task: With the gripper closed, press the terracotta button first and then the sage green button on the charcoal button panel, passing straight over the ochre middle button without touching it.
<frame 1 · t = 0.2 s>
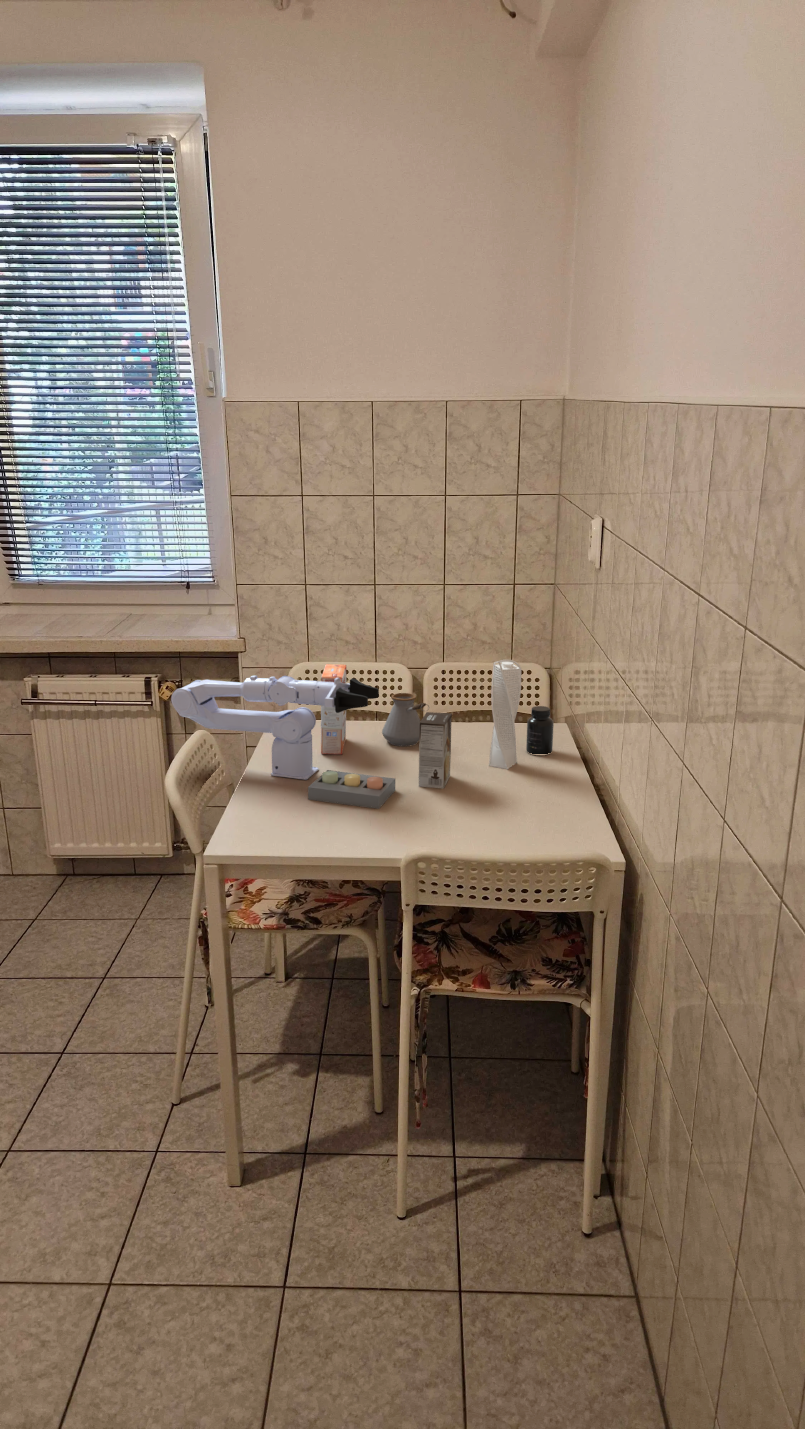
hand: (373, 697, 232), 21 cm above the table, tool horizontal, fingers open, 7 cm apart
coffee pot: (409, 748, 264), on the table
cracker box: (334, 747, 264), on the table
button sage: (330, 780, 231), point 3 cm above the table, slide at 0.0 cm
skyscraper: (502, 765, 252), on the table
button ochre: (352, 783, 230), point 3 cm above the table, slide at 0.0 cm
coffee box: (434, 782, 240), on the table
supplement bottle: (538, 752, 262), on the table
button panel: (352, 794, 231), on the table
button terracotta: (374, 786, 228), point 3 cm above the table, slide at 0.0 cm
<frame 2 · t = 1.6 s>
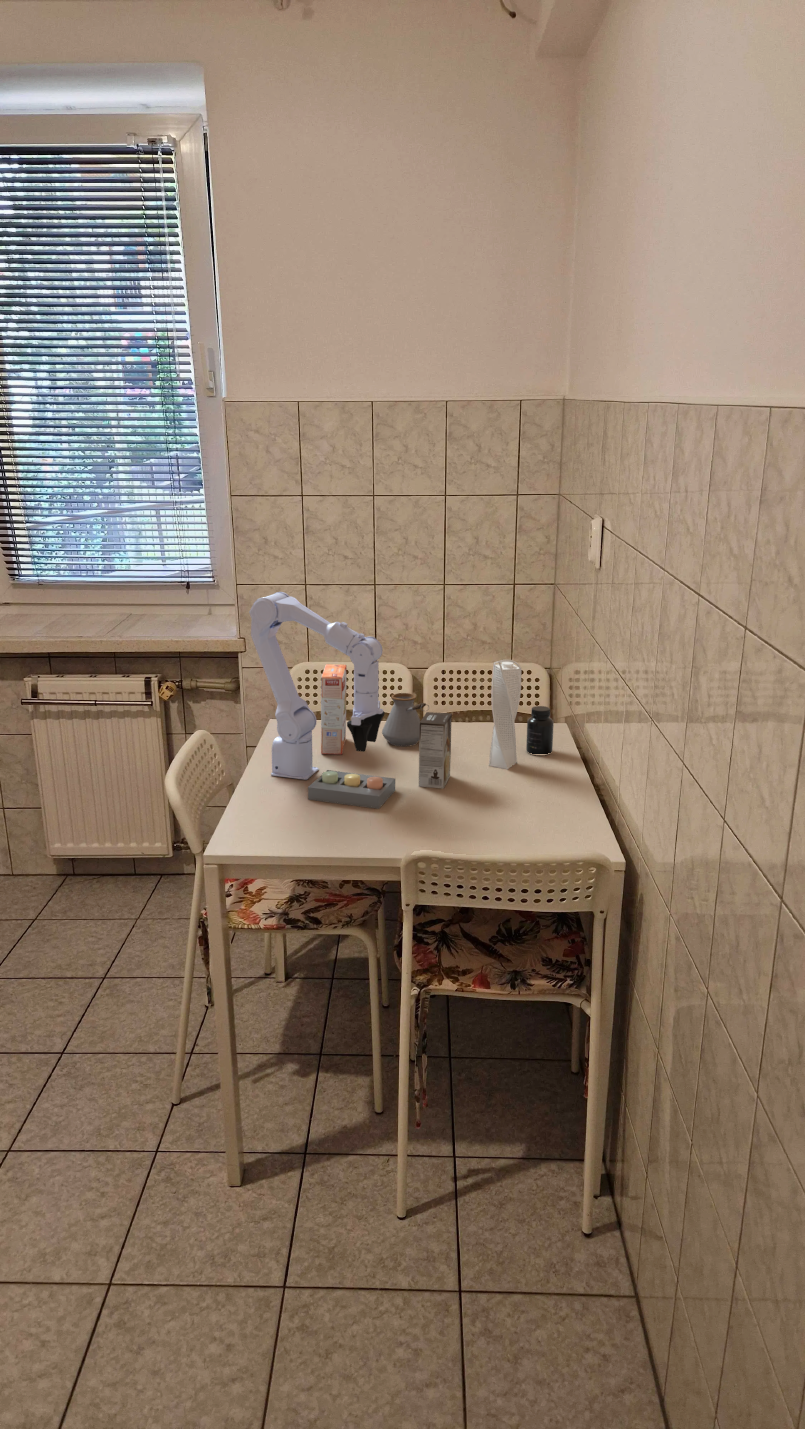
hand: (366, 746, 235), 9 cm above the table, tool pointing down, fingers open, 7 cm apart
nothing on the table moved.
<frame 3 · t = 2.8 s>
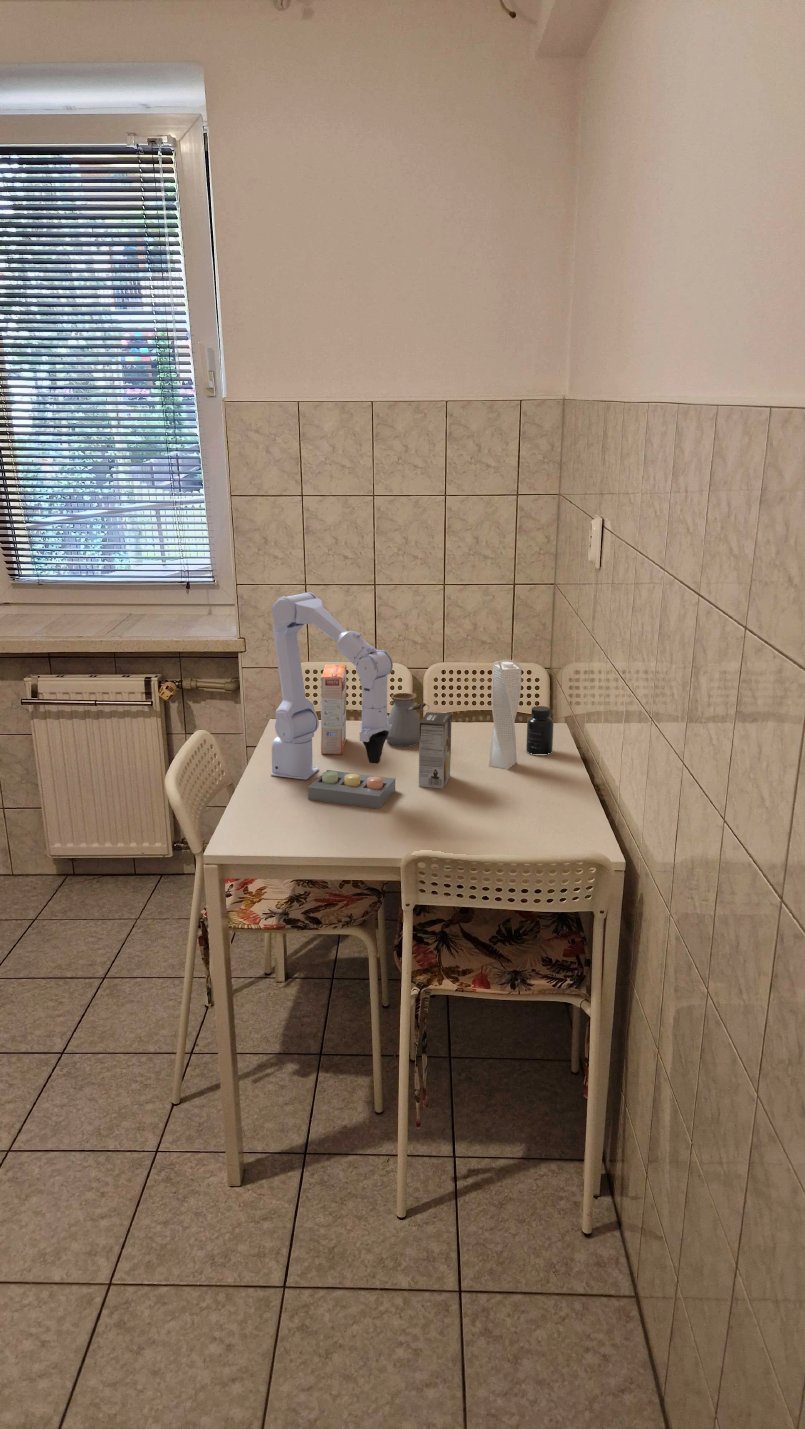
hand: (374, 762, 228), 8 cm above the table, tool pointing down, fingers closed
nothing on the table moved.
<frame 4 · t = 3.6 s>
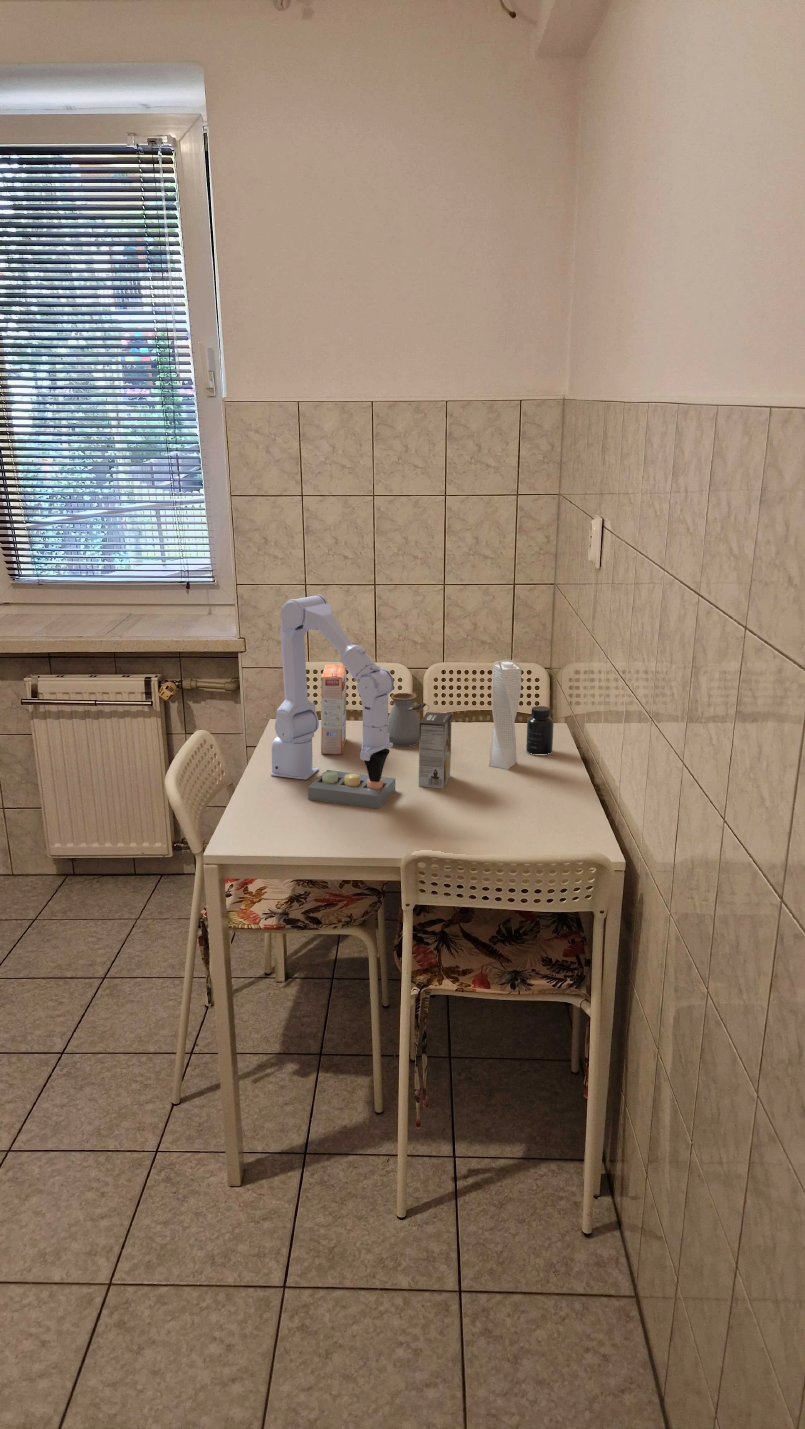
hand: (375, 780, 228), 4 cm above the table, tool pointing down, fingers closed, pressing on button terracotta
button terracotta: (374, 787, 228), point 3 cm above the table, slide at 0.3 cm, touching gripper
everything else where it was.
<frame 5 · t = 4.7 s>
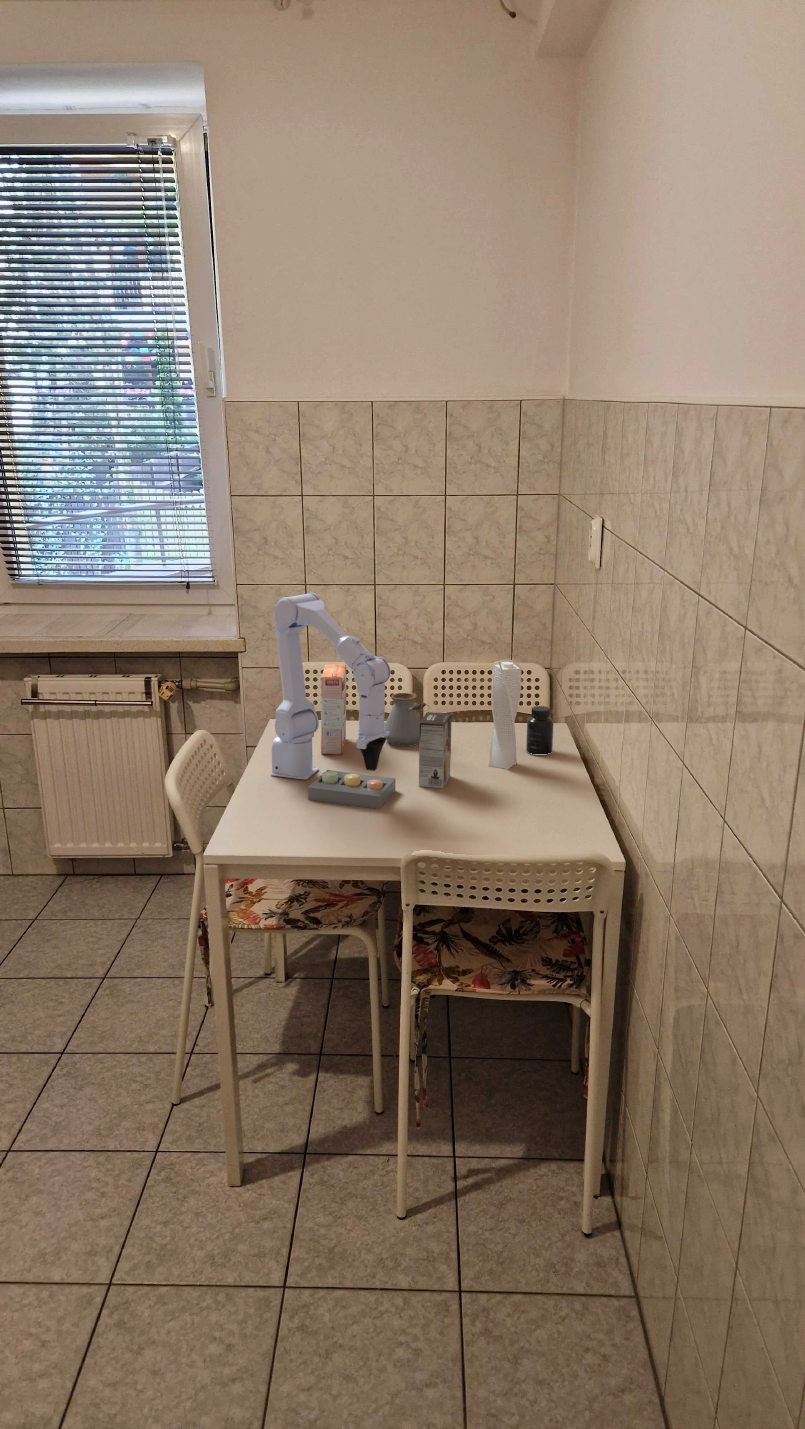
hand: (371, 769, 227), 7 cm above the table, tool pointing down, fingers closed
button terracotta: (374, 789, 229), point 2 cm above the table, slide at 0.7 cm
everything else where it was.
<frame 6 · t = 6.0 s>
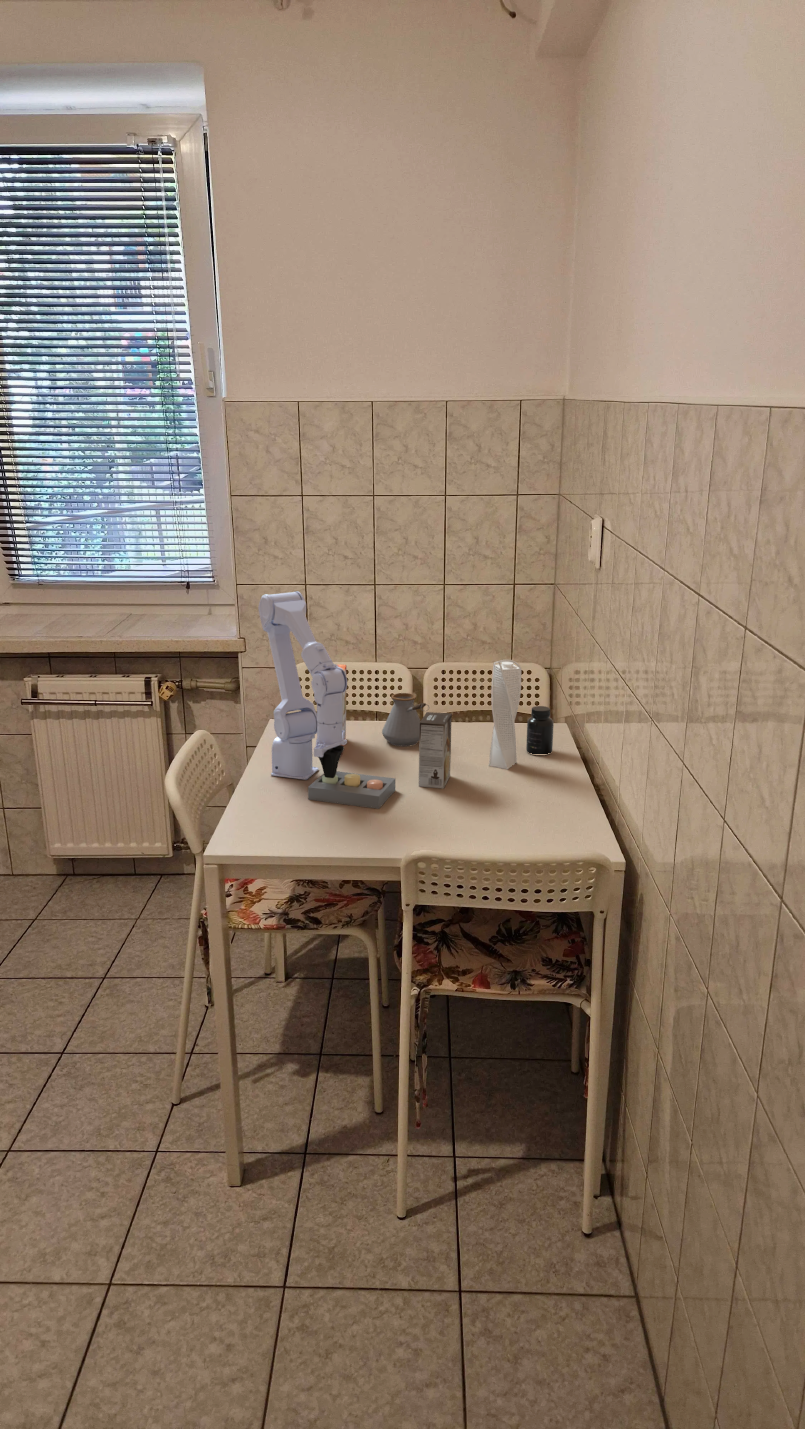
hand: (330, 776, 231), 4 cm above the table, tool pointing down, fingers closed, pressing on button sage
button sage: (330, 783, 232), point 2 cm above the table, slide at 0.7 cm, touching gripper
everything else where it was.
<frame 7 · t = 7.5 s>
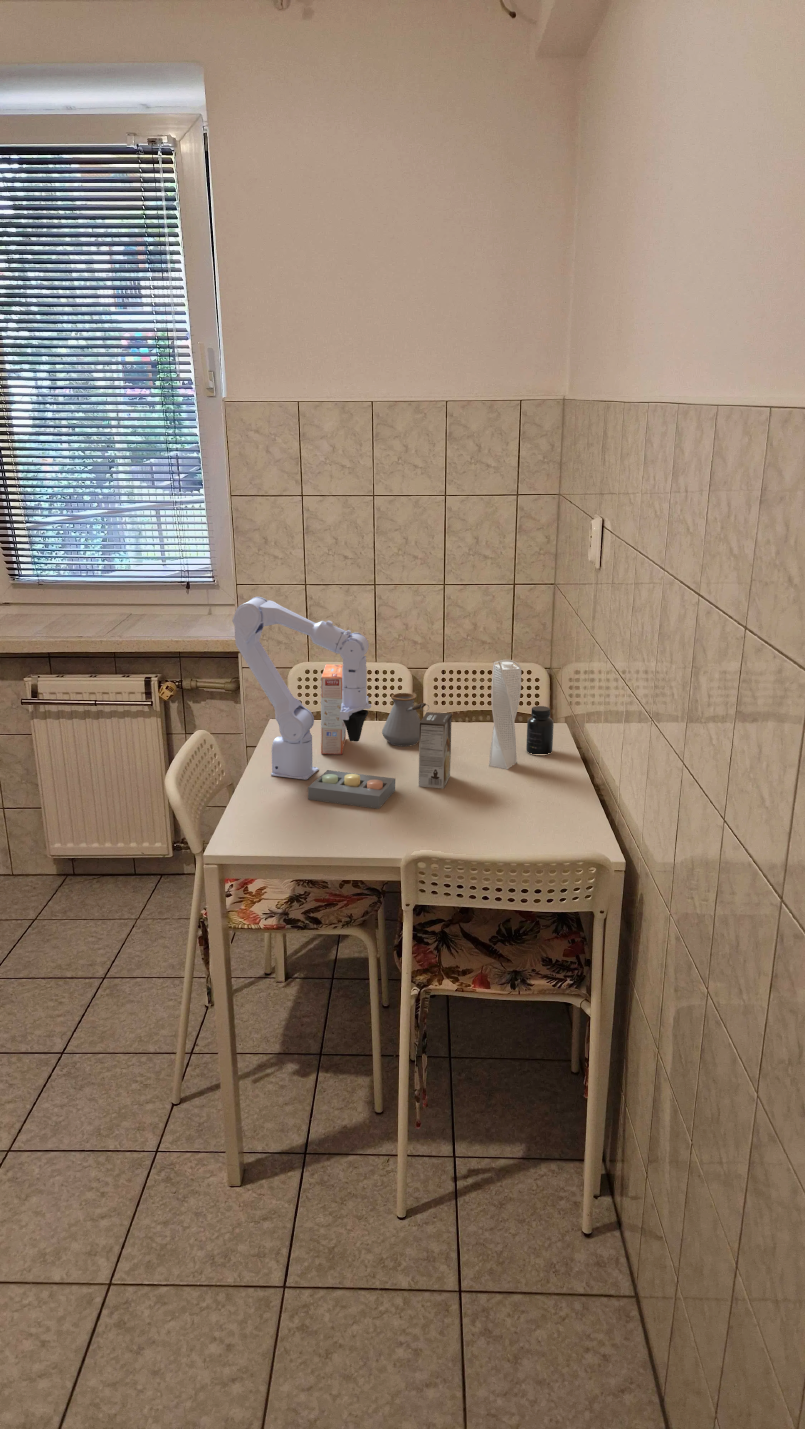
hand: (354, 740, 239), 9 cm above the table, tool pointing down, fingers closed
button sage: (330, 783, 232), point 2 cm above the table, slide at 0.7 cm
everything else where it was.
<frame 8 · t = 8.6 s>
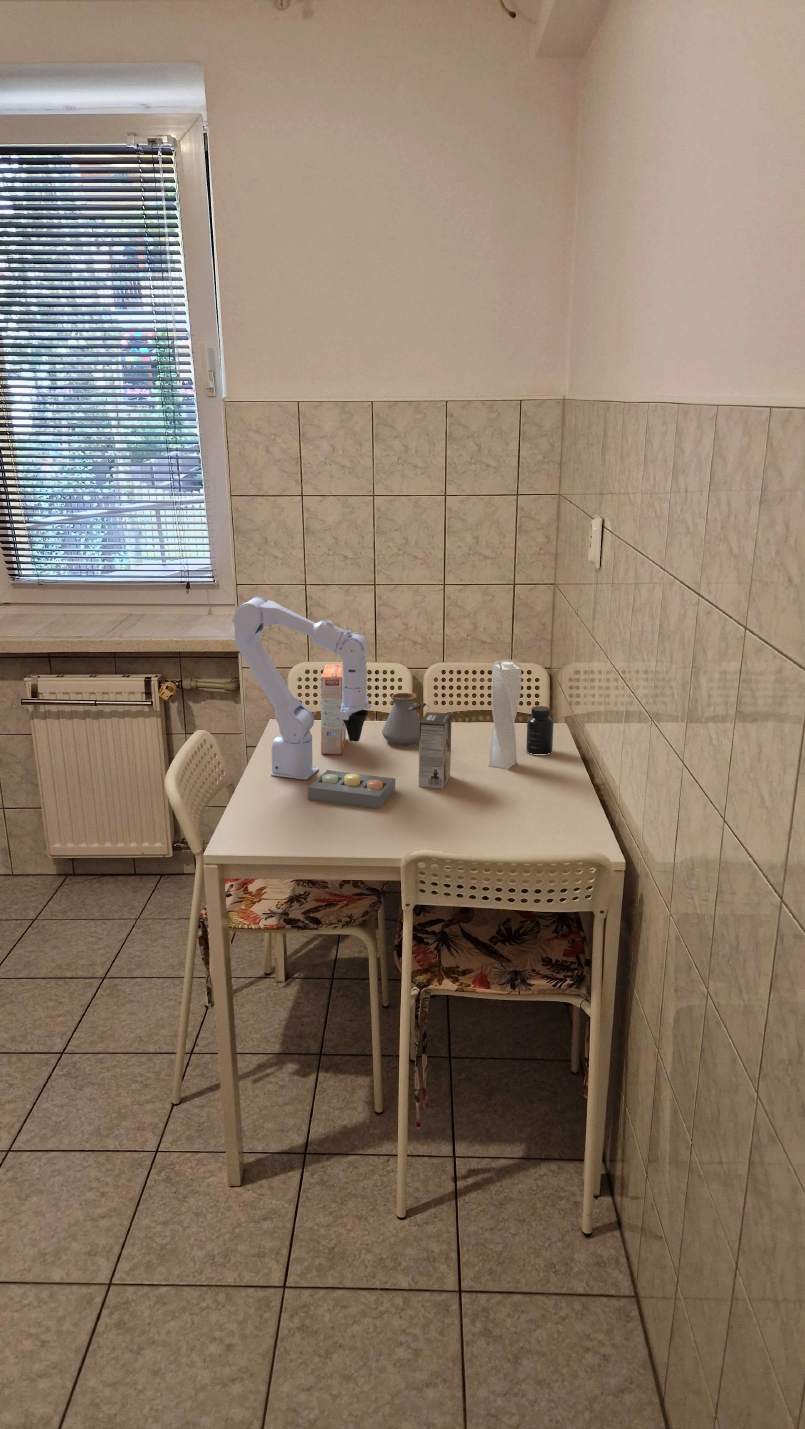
hand: (354, 740, 239), 9 cm above the table, tool pointing down, fingers closed
nothing on the table moved.
at the end: button terracotta slide at 0.7 cm; button sage slide at 0.7 cm; button ochre slide at 0.0 cm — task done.
